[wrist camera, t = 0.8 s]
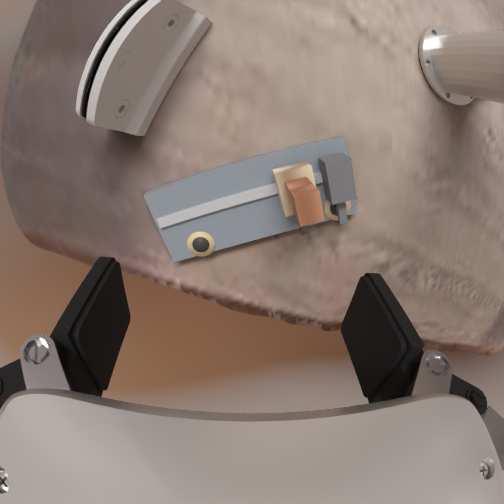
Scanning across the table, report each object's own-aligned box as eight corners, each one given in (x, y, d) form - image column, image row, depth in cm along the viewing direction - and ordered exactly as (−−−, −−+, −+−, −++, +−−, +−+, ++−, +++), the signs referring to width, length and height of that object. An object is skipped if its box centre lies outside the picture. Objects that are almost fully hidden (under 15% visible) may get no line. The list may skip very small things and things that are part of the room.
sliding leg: (305, 160, 30) (325, 178, 23) (318, 224, 34) (337, 257, 28) (271, 168, 30) (282, 189, 24) (287, 232, 35) (300, 267, 28)
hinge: (143, 139, 29) (83, 140, 20) (118, 123, 29) (59, 123, 20) (214, 20, 22) (173, -20, 13) (184, 11, 22) (138, -23, 13)
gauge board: (341, 136, 30) (356, 142, 26) (352, 210, 36) (366, 225, 32) (146, 191, 33) (135, 205, 29) (176, 258, 38) (170, 278, 34)
